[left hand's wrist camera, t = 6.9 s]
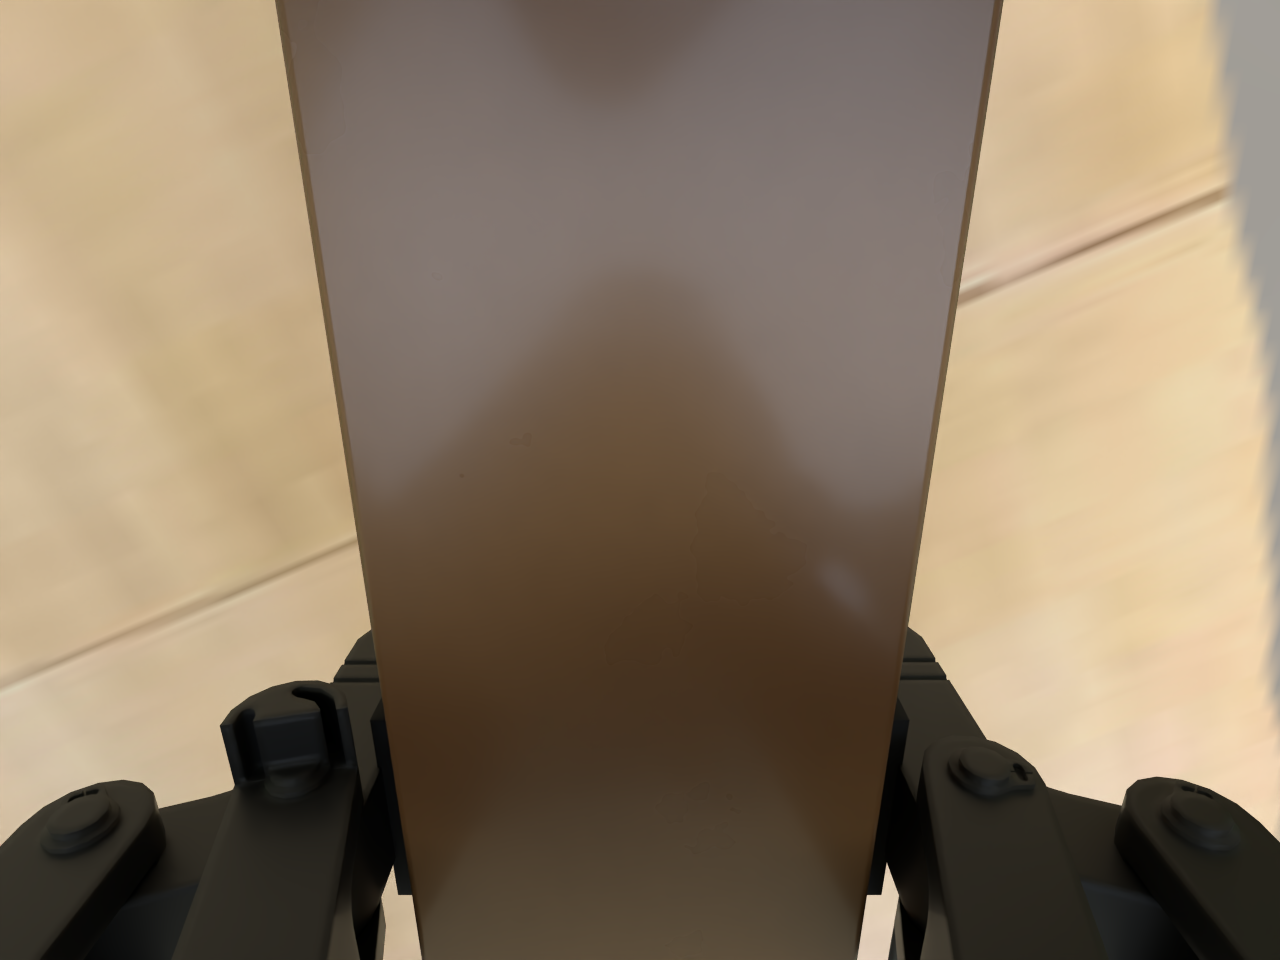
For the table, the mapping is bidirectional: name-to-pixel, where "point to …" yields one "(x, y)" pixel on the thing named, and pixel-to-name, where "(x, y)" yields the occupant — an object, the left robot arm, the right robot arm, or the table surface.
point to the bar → (639, 439)
